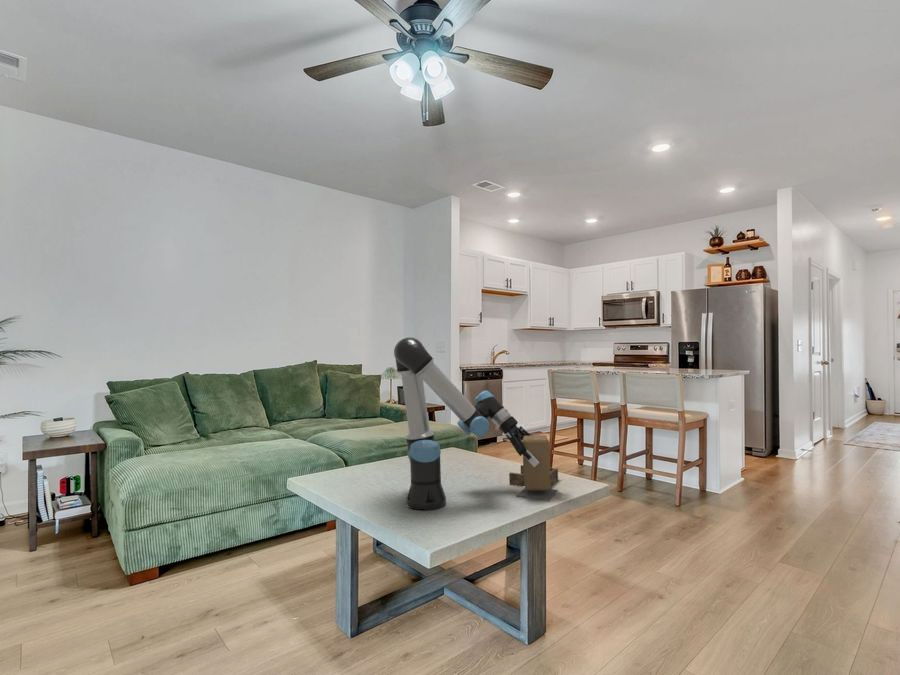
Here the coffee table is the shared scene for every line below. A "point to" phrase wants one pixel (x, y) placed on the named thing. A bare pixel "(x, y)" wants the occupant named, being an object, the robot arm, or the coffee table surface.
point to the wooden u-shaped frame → (519, 478)
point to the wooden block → (541, 472)
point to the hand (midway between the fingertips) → (541, 461)
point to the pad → (537, 494)
